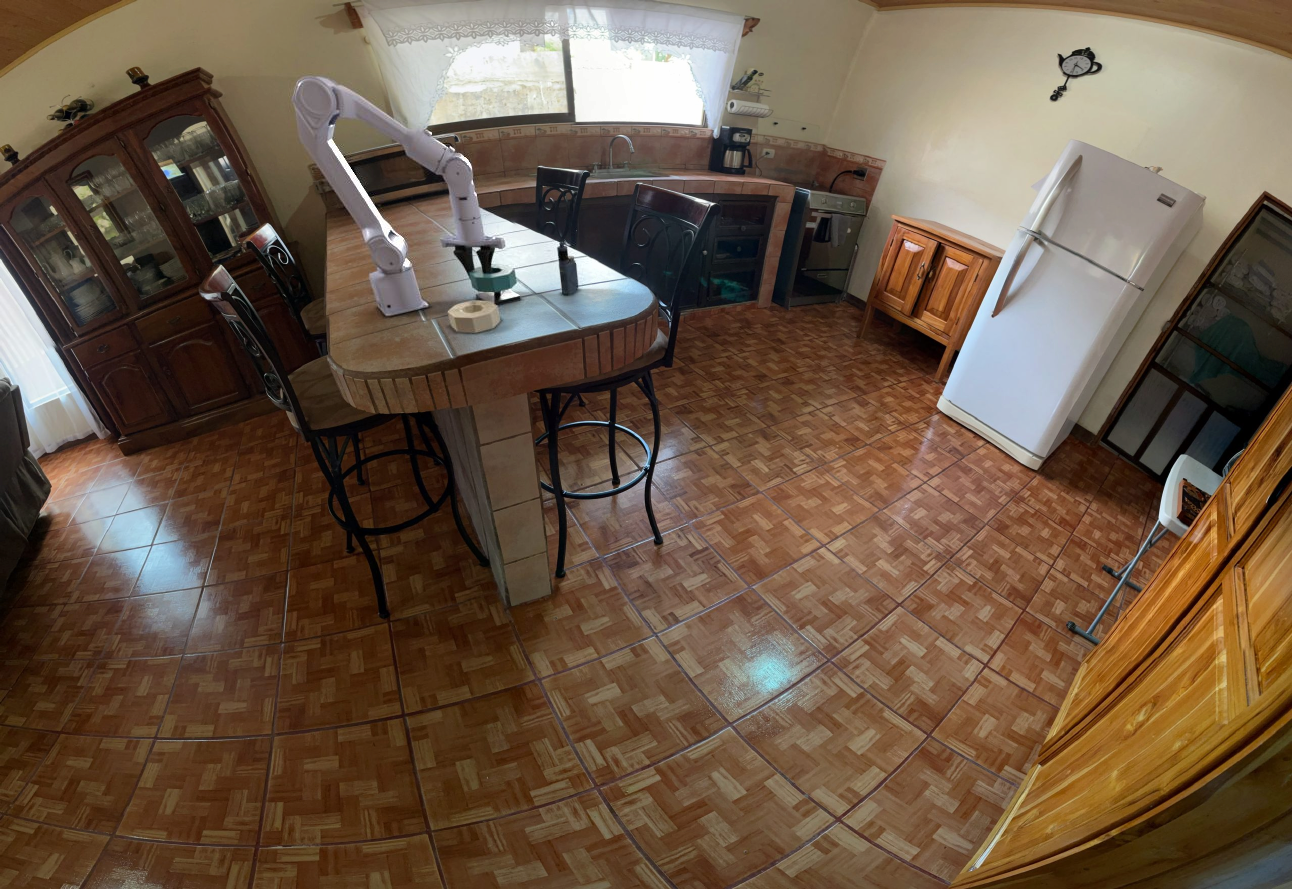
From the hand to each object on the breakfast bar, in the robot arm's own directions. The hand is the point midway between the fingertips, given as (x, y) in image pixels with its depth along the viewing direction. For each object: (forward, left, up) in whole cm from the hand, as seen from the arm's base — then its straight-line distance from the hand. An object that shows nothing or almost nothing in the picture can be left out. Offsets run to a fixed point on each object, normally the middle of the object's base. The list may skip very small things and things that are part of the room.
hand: (480, 278), depth 120 cm
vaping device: (+18, -9, -5) cm, 21 cm away
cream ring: (-8, -13, -5) cm, 16 cm away
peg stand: (+2, -2, -5) cm, 6 cm away
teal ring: (+2, -2, -1) cm, 3 cm away
